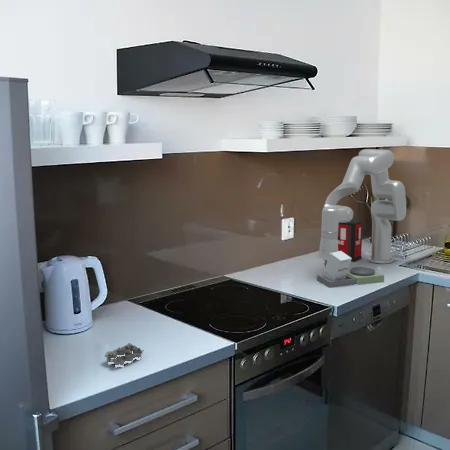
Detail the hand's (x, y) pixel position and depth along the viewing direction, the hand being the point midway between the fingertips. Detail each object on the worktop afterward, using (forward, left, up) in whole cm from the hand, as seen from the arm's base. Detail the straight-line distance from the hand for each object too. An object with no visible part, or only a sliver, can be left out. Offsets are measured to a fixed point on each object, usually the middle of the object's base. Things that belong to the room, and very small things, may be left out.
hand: (328, 274), depth 255 cm
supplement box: (0, +5, -1) cm, 5 cm away
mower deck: (-8, +6, -2) cm, 10 cm away
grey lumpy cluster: (+101, +59, -3) cm, 117 cm away
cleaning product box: (-26, -32, -3) cm, 41 cm away
